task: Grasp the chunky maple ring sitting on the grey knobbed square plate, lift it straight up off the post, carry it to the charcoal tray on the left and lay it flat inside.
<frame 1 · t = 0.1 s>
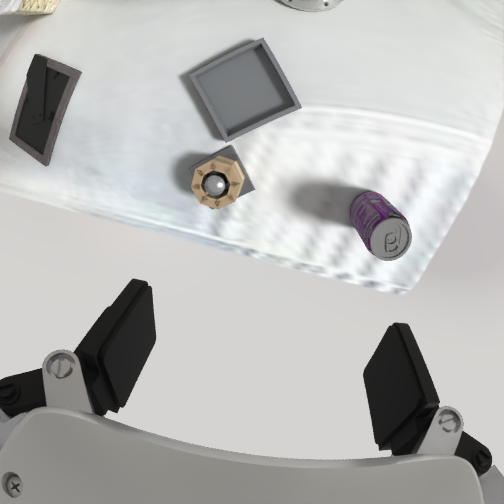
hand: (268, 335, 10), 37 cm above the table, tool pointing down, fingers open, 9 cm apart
grey knobbed square plate: (222, 177, 45), on the table
maple ring: (221, 178, 45), resting on grey knobbed square plate
charcoal tray: (246, 90, 38), on the table
picture frame: (43, 107, 41), on the table
beverage can: (368, 210, 45), on the table
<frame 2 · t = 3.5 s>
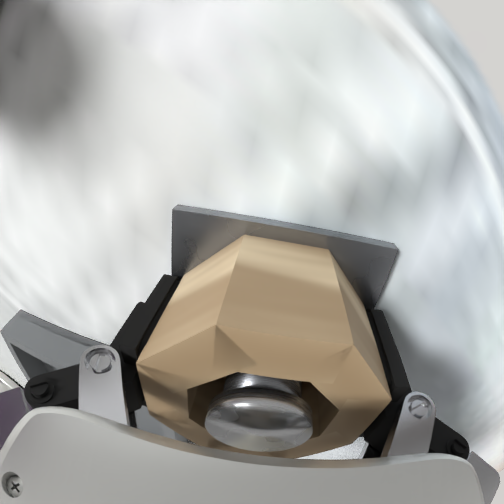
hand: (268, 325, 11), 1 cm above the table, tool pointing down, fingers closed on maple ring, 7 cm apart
grey knobbed square plate: (269, 313, 12), on the table
maple ring: (269, 320, 11), resting on grey knobbed square plate, touching gripper
charcoal tray: (106, 394, 17), on the table
when the fingers open (3 cm above the table, at t = 10.4 s): maple ring drops 2 cm, resting on charcoal tray.
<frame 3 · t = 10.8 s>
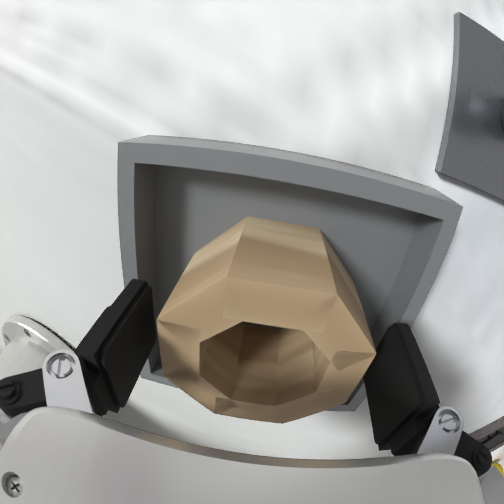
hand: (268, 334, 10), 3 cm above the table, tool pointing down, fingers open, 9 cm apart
lemon: (489, 462, 31), on the table
maple ring: (269, 294, 13), point 1 cm above the table, touching charcoal tray
charcoal tray: (272, 286, 13), on the table
picture frame: (480, 438, 24), on the table
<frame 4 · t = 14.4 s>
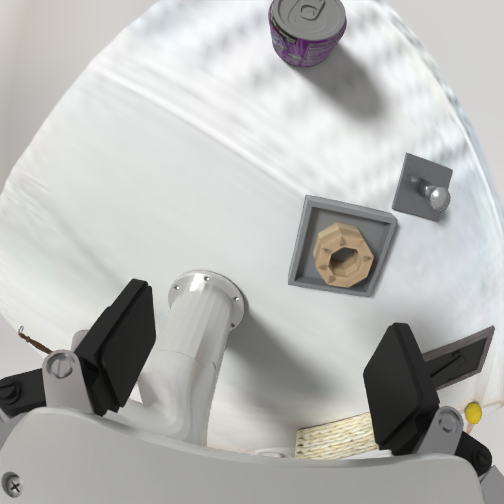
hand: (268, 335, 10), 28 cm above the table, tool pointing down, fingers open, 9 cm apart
grey knobbed square plate: (422, 187, 34), on the table
coffee pot: (86, 326, 54), on the table
lemon: (469, 403, 57), on the table
maple ring: (339, 247, 38), point 1 cm above the table, touching charcoal tray
charcoal tray: (339, 245, 39), on the table
picture frame: (450, 362, 49), on the table
storage basket: (342, 429, 63), on the table
beverage can: (301, 43, 27), on the table
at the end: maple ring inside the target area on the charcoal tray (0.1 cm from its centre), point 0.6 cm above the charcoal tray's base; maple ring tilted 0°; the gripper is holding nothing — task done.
